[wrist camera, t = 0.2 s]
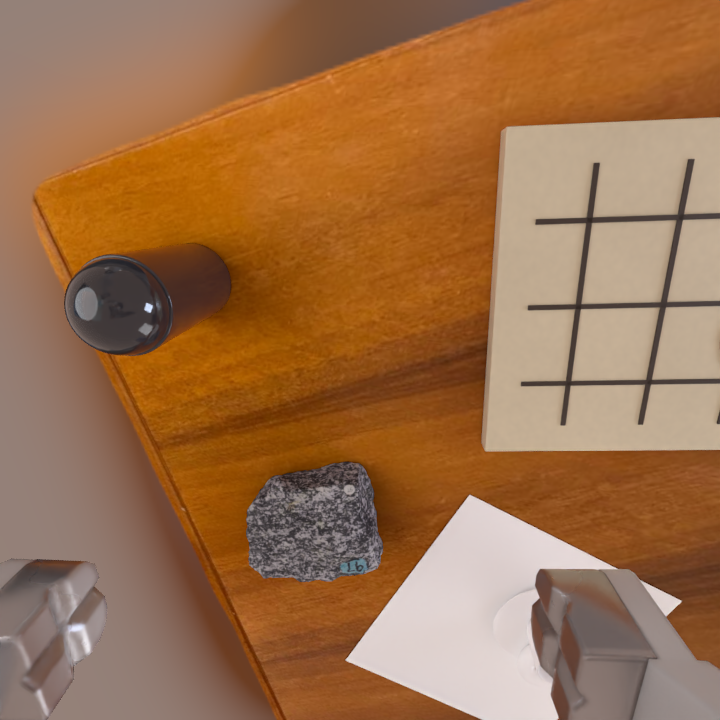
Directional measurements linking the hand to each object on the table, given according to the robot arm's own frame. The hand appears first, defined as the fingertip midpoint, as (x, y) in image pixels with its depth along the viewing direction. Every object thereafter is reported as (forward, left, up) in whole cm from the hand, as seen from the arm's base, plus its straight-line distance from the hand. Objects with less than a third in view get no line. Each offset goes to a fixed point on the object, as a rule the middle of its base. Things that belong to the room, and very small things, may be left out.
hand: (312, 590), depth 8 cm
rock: (+15, -4, -22) cm, 27 cm away
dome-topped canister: (-3, -11, -22) cm, 24 cm away
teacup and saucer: (+27, +11, -22) cm, 37 cm away
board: (-1, +18, -22) cm, 28 cm away
